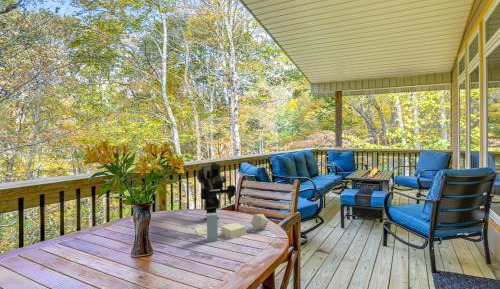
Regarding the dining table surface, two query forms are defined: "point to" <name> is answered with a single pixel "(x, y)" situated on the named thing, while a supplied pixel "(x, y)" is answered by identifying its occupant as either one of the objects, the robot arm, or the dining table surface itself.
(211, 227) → the blue brick
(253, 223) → the die
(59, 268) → the dining table surface
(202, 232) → the plate
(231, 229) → the base brick
